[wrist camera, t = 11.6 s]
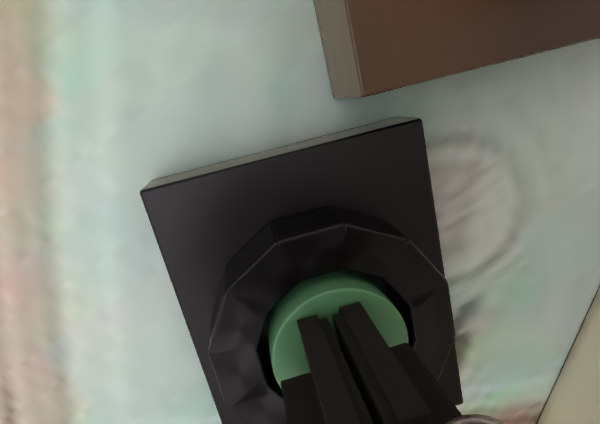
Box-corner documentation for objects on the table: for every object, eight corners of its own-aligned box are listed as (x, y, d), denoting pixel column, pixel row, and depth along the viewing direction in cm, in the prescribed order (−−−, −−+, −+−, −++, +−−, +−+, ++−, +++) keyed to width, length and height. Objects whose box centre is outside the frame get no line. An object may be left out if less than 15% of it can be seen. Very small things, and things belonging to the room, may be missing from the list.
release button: (251, 282, 11) (255, 312, 10) (373, 247, 12) (397, 271, 10) (283, 387, 12) (290, 431, 11) (394, 352, 13) (419, 389, 11)
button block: (150, 180, 12) (119, 207, 9) (399, 116, 13) (456, 119, 10) (239, 437, 15) (241, 531, 12) (440, 373, 16) (496, 445, 13)
